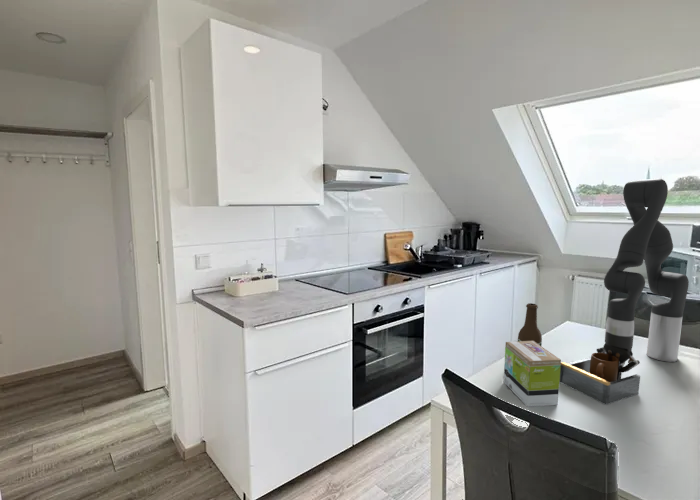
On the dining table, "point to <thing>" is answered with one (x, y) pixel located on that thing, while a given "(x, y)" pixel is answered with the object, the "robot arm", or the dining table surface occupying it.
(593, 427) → the dining table surface
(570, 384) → the bracket
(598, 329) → the dining table surface
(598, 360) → the mug
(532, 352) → the tea box
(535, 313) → the beer bottle
